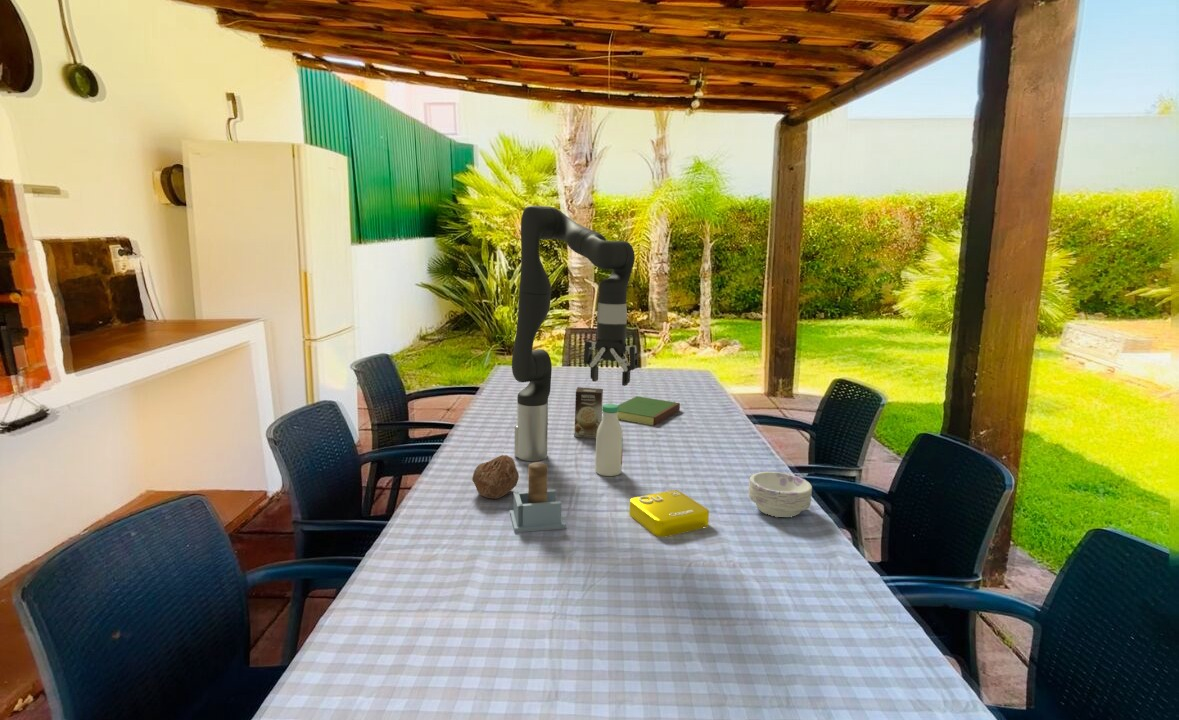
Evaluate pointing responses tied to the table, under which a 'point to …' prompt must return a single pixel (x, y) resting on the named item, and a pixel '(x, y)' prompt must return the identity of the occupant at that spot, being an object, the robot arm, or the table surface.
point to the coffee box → (588, 411)
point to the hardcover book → (647, 410)
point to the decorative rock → (496, 477)
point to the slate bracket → (536, 513)
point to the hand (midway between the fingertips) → (609, 383)
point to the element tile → (668, 513)
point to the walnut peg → (537, 483)
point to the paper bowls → (780, 493)
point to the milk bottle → (609, 443)
